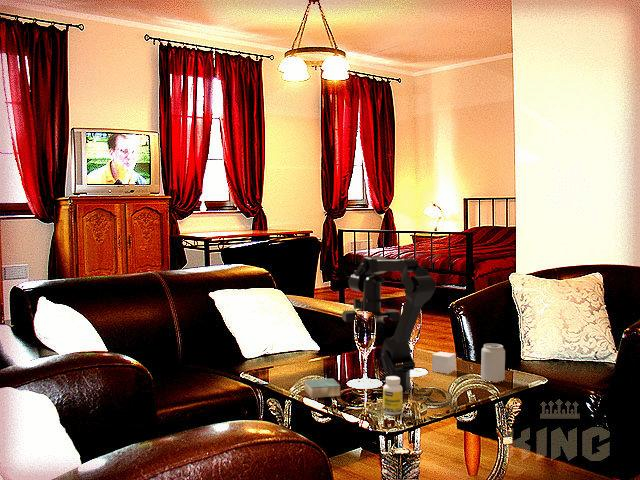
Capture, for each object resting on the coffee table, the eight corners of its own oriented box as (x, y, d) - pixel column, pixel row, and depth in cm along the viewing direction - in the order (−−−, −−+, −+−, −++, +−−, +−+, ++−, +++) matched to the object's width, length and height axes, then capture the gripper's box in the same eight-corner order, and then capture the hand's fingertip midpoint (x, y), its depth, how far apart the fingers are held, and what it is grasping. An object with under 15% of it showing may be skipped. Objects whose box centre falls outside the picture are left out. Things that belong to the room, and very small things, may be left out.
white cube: (431, 372, 236) (432, 354, 236) (439, 368, 241) (439, 351, 241) (448, 374, 233) (448, 357, 232) (455, 370, 238) (455, 353, 237)
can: (506, 379, 226) (507, 343, 225) (502, 385, 220) (503, 348, 219) (483, 377, 229) (484, 341, 229) (478, 382, 223) (479, 346, 222)
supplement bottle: (382, 414, 191) (382, 379, 190) (383, 408, 196) (383, 374, 196) (401, 415, 190) (402, 380, 189) (402, 409, 195) (403, 375, 195)
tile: (332, 378, 216) (304, 380, 213) (340, 385, 208) (311, 387, 206) (332, 389, 216) (304, 391, 214) (340, 396, 208) (311, 399, 206)
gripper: (391, 290, 235) (390, 334, 237) (338, 291, 231) (337, 336, 233) (402, 295, 225) (400, 342, 226) (346, 296, 221) (345, 344, 222)
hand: (370, 341), depth 227 cm, fingers closed
